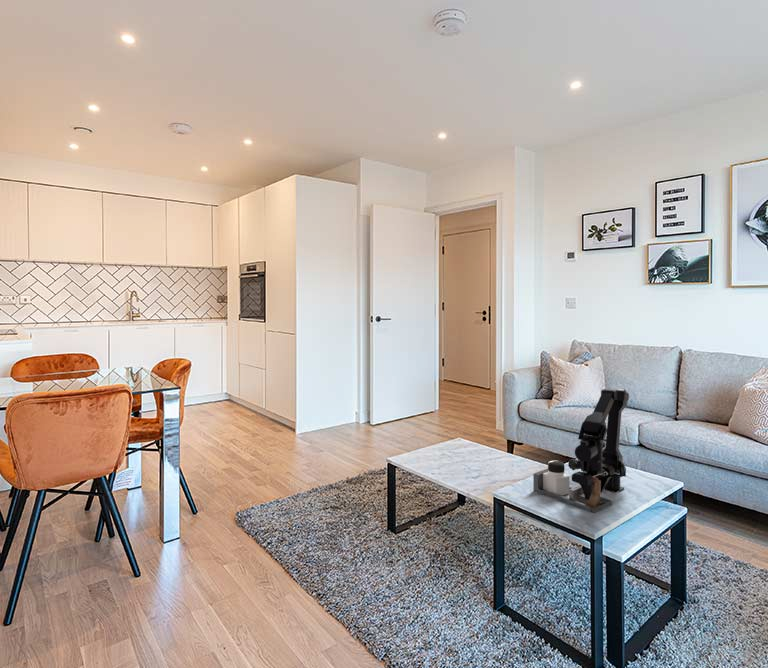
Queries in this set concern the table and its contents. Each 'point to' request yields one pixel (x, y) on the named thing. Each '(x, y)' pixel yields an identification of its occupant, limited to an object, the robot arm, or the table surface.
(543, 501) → the table surface
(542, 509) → the table surface
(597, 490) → the press carriage
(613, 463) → the robot arm
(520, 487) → the table surface
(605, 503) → the frame
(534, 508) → the table surface
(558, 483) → the medicine bottle
